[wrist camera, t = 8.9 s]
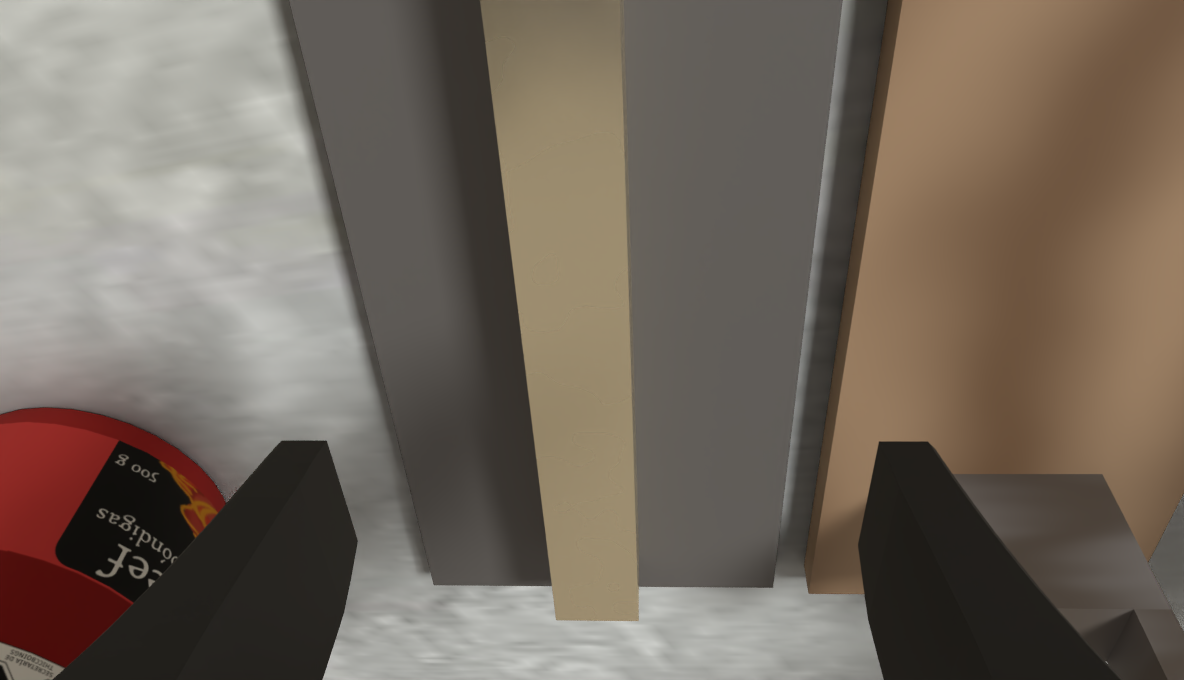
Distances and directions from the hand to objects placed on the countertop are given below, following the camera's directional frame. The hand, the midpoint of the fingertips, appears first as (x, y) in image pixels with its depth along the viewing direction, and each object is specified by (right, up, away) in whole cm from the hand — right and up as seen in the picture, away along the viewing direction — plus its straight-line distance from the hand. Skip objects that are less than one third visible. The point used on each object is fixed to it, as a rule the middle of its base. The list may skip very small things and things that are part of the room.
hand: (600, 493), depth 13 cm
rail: (0, +6, +6) cm, 9 cm away
